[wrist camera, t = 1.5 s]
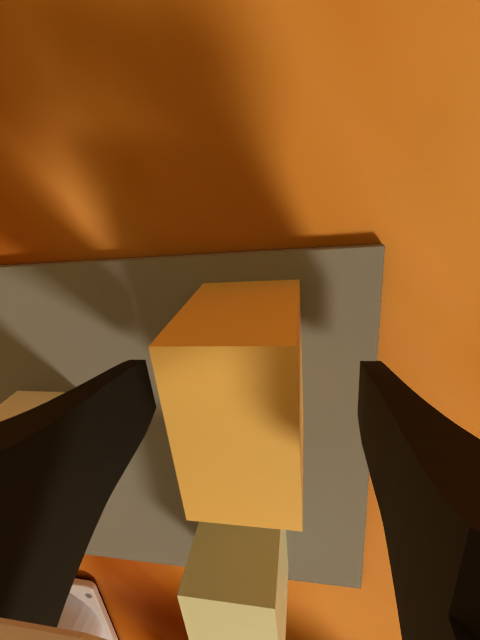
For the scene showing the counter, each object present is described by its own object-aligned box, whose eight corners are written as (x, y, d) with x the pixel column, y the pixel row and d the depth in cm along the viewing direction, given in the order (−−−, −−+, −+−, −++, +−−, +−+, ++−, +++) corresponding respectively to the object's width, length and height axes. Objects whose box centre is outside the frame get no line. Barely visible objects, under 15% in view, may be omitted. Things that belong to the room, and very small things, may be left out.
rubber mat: (359, 580, 19) (361, 588, 18) (63, 544, 22) (58, 551, 22) (382, 243, 12) (385, 246, 11) (-58, 268, 15) (-67, 271, 15)
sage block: (288, 568, 19) (283, 697, 14) (224, 560, 19) (200, 681, 15) (283, 485, 16) (275, 609, 12) (211, 480, 17) (176, 595, 12)
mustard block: (303, 417, 14) (302, 531, 10) (221, 414, 15) (186, 520, 11) (299, 279, 12) (296, 345, 8) (203, 283, 13) (148, 346, 8)
